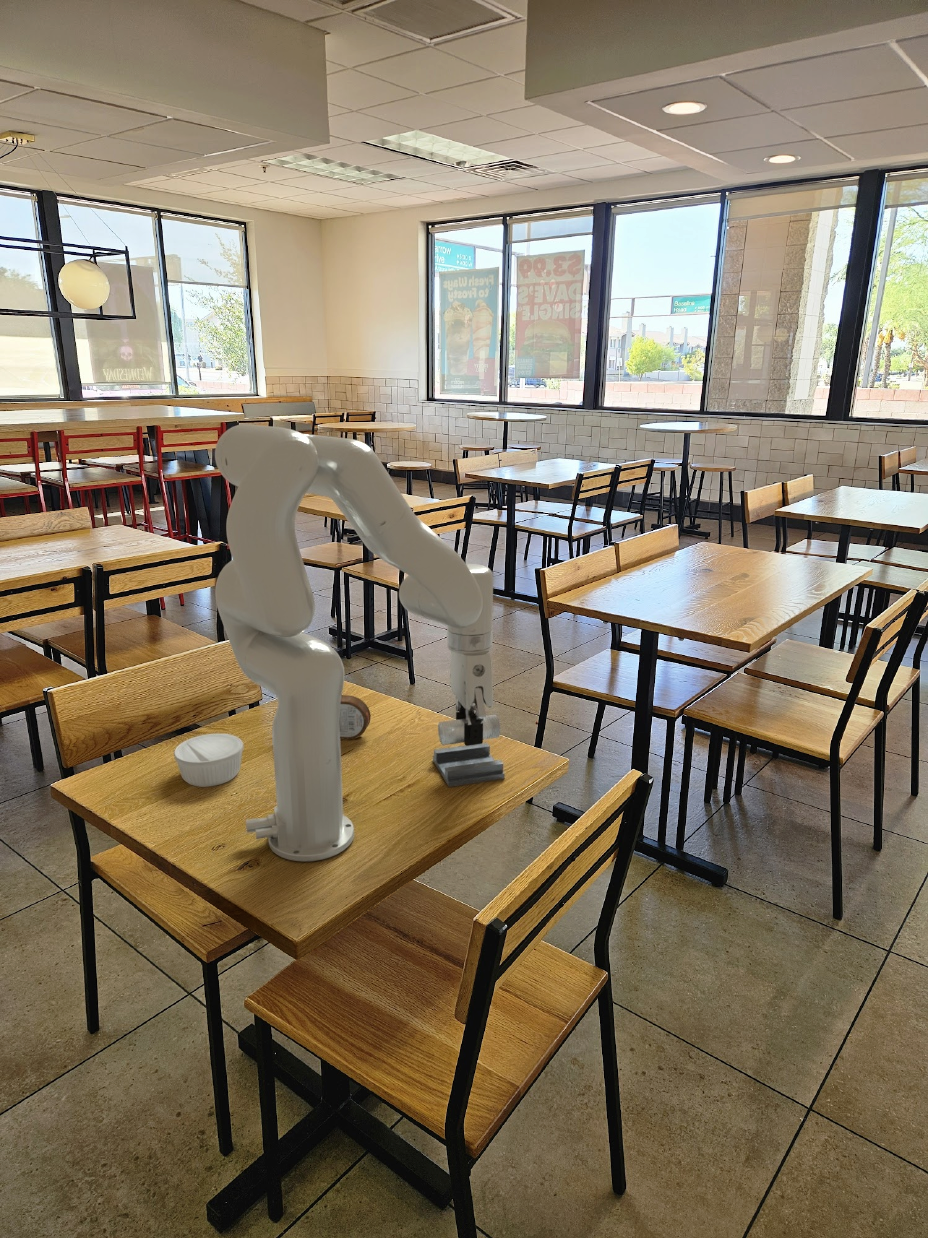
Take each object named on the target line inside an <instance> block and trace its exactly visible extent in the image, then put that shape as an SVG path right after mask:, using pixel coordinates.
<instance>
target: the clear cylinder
mask: <svg viewBox="0 0 928 1238" xmlns="http://www.w3.org/2000/svg"><path fill="white" fill-rule="evenodd" d="M465 723H466V719H459V720H456V719H452V720H445V721H439V722H438V726H437V730H438V731H437V732H438V738H439V742H440V745H441V746H448V745H452V744H453V745H455V744H462V743H464V724H465ZM500 724H501V723H500V721H499V717H498V715H497V714H491V715H486V718H484V723H483V741H484V740H491V739H498V738H500V736H501V725H500Z"/></svg>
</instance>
